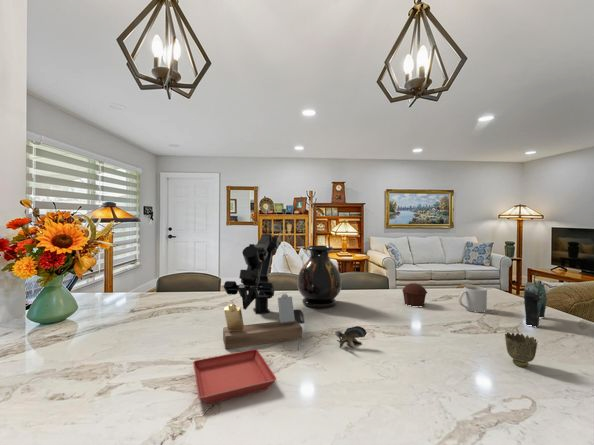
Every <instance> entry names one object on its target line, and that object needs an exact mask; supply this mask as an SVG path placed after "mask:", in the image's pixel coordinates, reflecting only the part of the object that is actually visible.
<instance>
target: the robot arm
mask: <svg viewBox="0 0 594 445" xmlns="http://www.w3.org/2000/svg"><path fill="white" fill-rule="evenodd" d="M278 249H279V240H278V238H277V237H275V236H273V234H272V233H262V234H261V235H260V238H259V240H258V242H257V243H256V244H255V243H253V244H252V243H249V244H248V246H246V247H245V248H244V249H242V252H241V253H242V256H243V259H244V262H245V265H246V269H240V271H239V278H238V279H239V280H240V283H239V284H237V282H236V281H234V280H226V281H225V282H223V283H224V284H223V289H224V290H225V294H227V295H232V296H233V295H237V294H238V293H239V297H241V300H242V309H243V310H244V311H245V310H247V308H248V307H249V306H250V305H251V304H252V302H254V307H253V308H252V310H253V312H254V313H255V314H265V313H270V312H271V310H270V309H269V300H270V299H273V297H274V296H275V286H274V283H272V282H270V280H269V275H270V274H269V273H270V269H271V264H272V260H273V256H274V255H276V254H277V250H278Z"/></svg>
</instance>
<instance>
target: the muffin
mask: <svg viewBox="0 0 594 445" xmlns="http://www.w3.org/2000/svg"><path fill="white" fill-rule="evenodd" d="M427 294H428V291H427V290H426V288H425V287H424V286H423V285H421V284H420V283H414V282H413V283H408V284H406V285H405V286H404V287H403V289H402V295H403V300H404V305H406V304H407V305H406V306H408V305H411V306H410V307H412V306H423V307H425V303H426V302H425V300H426V296H427Z"/></svg>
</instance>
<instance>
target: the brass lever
mask: <svg viewBox="0 0 594 445" xmlns="http://www.w3.org/2000/svg"><path fill="white" fill-rule="evenodd" d="M223 312H224V315H225V316H224V317H225V321H226V325H227V326H226V327H228V330H236V331H243V329H244V325H245V324H244V320H243V314H242V312H243V311H242V307H239V306H236V304H235V303H233V304H229V305H228V306H225V307H224V309H223Z"/></svg>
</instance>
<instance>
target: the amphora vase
mask: <svg viewBox="0 0 594 445" xmlns="http://www.w3.org/2000/svg"><path fill="white" fill-rule="evenodd" d="M306 250H308V251H309V252H310V257H309V259H308V260H307V261H306V262H305V263H304V264H303V265H302V267H301V268H300V270H299V273H298V276H297V281H296V282H297V283H296V284H297V289H298V291H299V293H300V294H301V296H302V297H303V298H302V299H301V300H302V301H301V302H302V304H303V305H304V306H306V307H309V308H313V309H327V308H328V309H329V308H332V307H334V306H335V305H336V304H337V300H336V299H335V298H337V296H338V295H339V294H340V293H341V290H342V283H343V282H342V278H341V272H340V270H339V268H338V267H337V266H336V265H335V263H334V262H333V261H332V260H331V259H330V257H329V254H330V252H331V251H333V250H334V247H333V246H329V245H310V246H309V245H307V247H306Z"/></svg>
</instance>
